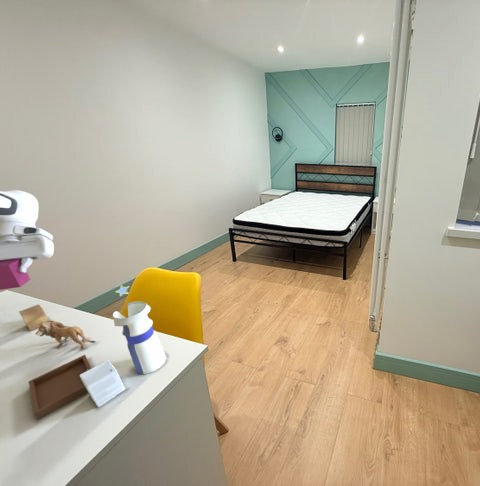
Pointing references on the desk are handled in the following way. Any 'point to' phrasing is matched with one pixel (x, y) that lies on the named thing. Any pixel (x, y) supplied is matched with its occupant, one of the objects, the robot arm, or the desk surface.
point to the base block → (33, 316)
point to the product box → (102, 382)
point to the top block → (11, 274)
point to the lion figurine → (62, 332)
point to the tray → (58, 386)
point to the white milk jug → (140, 336)
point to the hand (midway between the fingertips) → (8, 274)
